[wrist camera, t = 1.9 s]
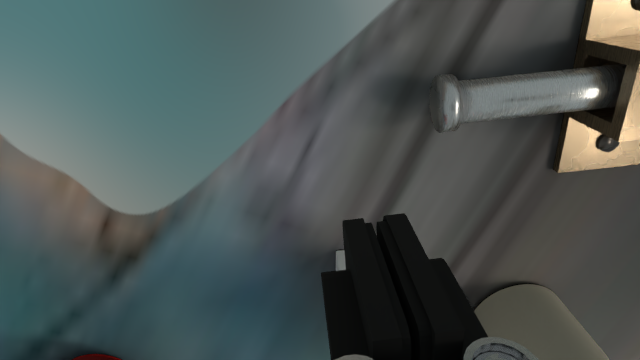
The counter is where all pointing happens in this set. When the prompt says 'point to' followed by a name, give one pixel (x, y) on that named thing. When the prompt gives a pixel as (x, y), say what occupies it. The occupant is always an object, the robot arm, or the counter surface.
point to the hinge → (633, 101)
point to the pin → (522, 95)
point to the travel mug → (537, 324)
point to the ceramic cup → (96, 357)
